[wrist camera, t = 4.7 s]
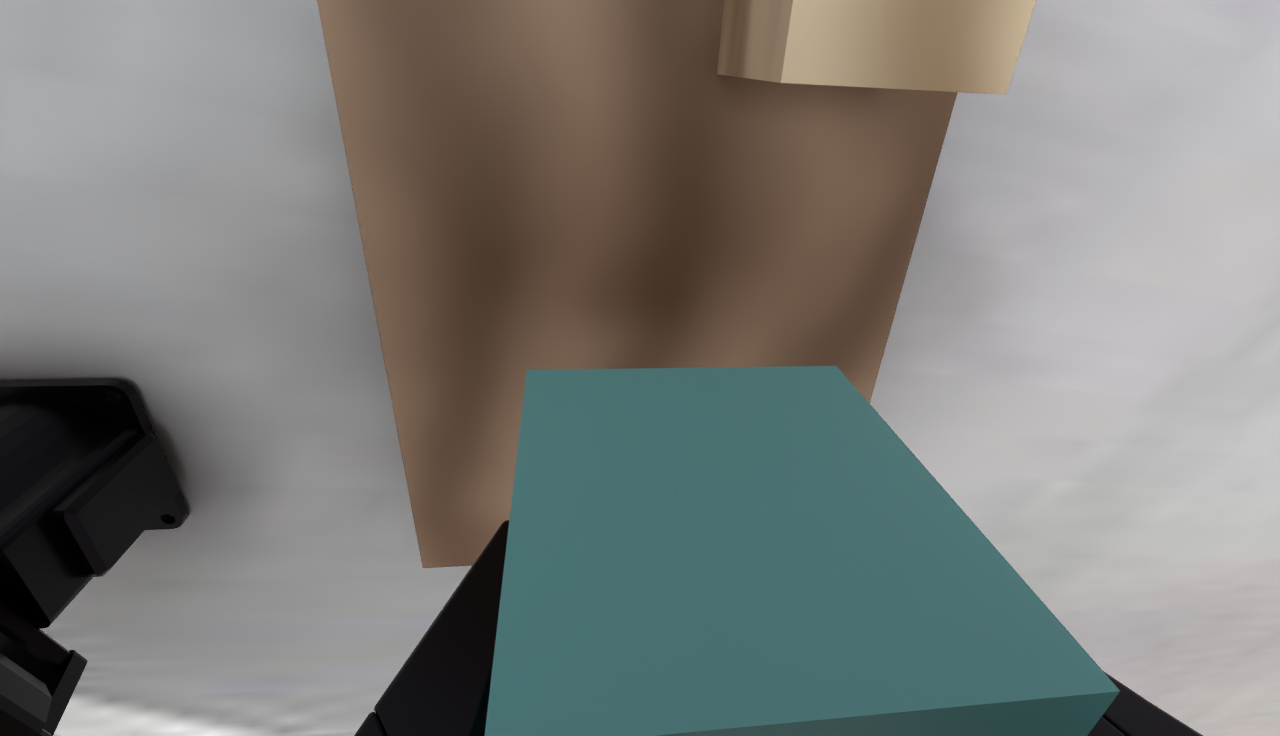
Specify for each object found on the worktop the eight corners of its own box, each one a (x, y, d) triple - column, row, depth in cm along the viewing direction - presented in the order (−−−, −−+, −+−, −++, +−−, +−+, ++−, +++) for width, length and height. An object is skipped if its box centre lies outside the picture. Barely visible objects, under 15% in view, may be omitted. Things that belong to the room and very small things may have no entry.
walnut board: (428, 546, 25) (422, 568, 24) (291, -243, 13) (267, -268, 12) (818, 526, 27) (829, 545, 26) (1001, -163, 15) (1033, -178, 14)
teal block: (538, 594, 11) (519, 1002, 6) (526, 369, 9) (483, 752, 4) (784, 579, 12) (937, 940, 7) (836, 365, 9) (1120, 690, 5)
